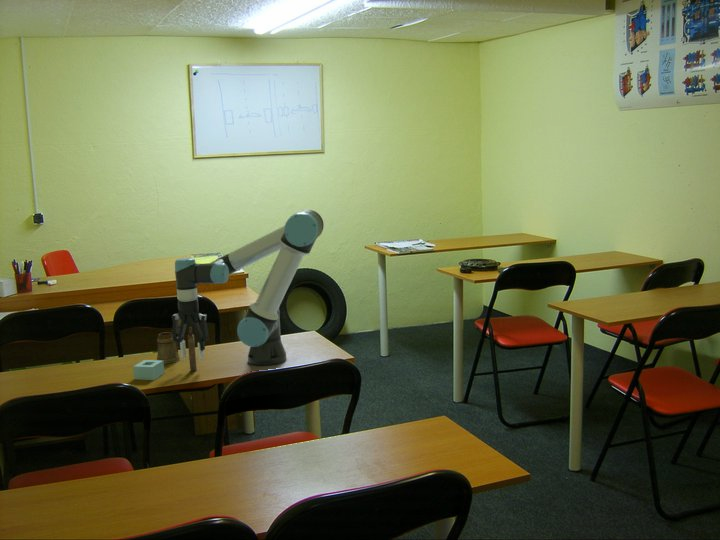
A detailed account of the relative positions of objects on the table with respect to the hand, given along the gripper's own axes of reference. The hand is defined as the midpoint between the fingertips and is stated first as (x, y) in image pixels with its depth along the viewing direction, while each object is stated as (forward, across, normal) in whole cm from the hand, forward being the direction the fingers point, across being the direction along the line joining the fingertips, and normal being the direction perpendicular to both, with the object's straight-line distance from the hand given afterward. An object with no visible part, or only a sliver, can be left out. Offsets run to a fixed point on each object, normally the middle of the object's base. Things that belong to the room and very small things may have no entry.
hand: (192, 358), depth 265 cm
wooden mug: (+5, +15, -13) cm, 21 cm away
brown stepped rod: (+5, 0, 0) cm, 5 cm away
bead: (+5, +14, +8) cm, 17 cm away
